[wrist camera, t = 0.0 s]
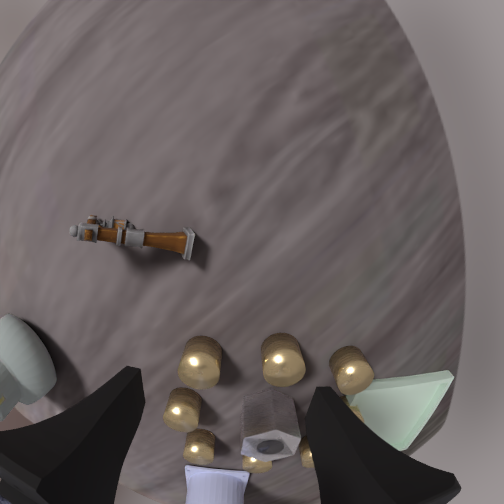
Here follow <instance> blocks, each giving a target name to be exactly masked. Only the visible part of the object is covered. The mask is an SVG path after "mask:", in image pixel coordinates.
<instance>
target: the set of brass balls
mask: <svg viewBox="0 0 504 504" xmlns="http://www.w3.org/2000/svg"><path fill="white" fill-rule="evenodd" d="M261 354H262V365H263V375H264V378H265V380H266V381H267V382H268V383H269V384H271V385H273V386H277V387H287V386H291V385H293V384H295V383H297V382H298V381H300V380H301V379H302V377H303V376H304V374H305V370H306V368H305V364H304V360H303V357H302V354H301V351H300V347H299V344H298V341H297V340H296V338H295V337H293V336H292V335H290V334H287V333H276V334H273V335H271V336H269V337H268V338H266V339H265V341H264V342H263V344H262V346H261ZM221 359H222V349H221V346H220V345H219V344H218V342H217V341H215V340H214V339H212V338H210V337H207V336H196V337H193V338H191V339H190V340H189V341H188V342H187V343H186V346H185V349H184V352H183V355H182V358H181V361H180V364H179V367H178V375H179V378H180V379H181V380H182V382H183V383H185V384H186V385H187V386H189V387H192V388H195V389H209V388H211V387H213V386H215V385H216V384H217V382H218V381H219V376H220V367H221ZM329 366H330V369H331V371H332V374H333V376H334V378H335V381H336V383H337V386H338V388H339V390H340V392H341V393H343V394H345V395H354V394H357V393H360V392H362V391H364V390H365V389H366V388H367V387H368V386H369V385H370V384H371V383H372V381H373V378H374V372H373V370H372V369H371V367H370V365H369V364H368V362H367V361H366V359H365V357H364V356H363V354H362V353H361V351H360V349H359V348H357V347H355V346H346V347H343V348H341V349H339V350H337V351H336V352H335V353H334V354H333V355H332V357H331V358H330V361H329ZM340 398H341V399H342V400H343V402H344V403H345V404H346V405H347V406H348V407H349V408H350V409H351V410H352V411H353V412H354V413H355V415H356V416H357V417H358V418H359V419H360V420H361V421H362V422H363V423H364V419H363V417H362V414H361V412H360V410H359V408H358V406H357V404H356V406H350V405H349V402H348V400H347V398H346V396H342V397H340ZM201 403H202V399H201V397H200V396H199V394H198V393H196V392H195V391H193V390H191V389H188V388H176V389H174V390H173V391H172V392H171V393H170V396H169V399H168V403H167V406H166V409H165V413H164V416H163V420H164V422H165V424H166V425H167V426H169V427H170V428H172V429H174V430H177V431H180V432H188V433H187V438H186V443H185V448H184V454H183V457H184V458H185V459H186V460H187V461H189V462H191V463H194V464H198V465H207V464H210V463H212V462H213V459H214V448H215V436H214V434H213V433H211V432H210V431H207V430H204V429H196V428H197V426H198V421H199V415H200V409H201ZM299 450H300V455H301V461H302V465H303V466H304V467H307V468H315V467H314V463H313V459H312V455H311V451H310V447H309V443H308V439H307V436H305V437H303V438H301V440H300V443H299ZM271 468H272V461H268V462H263V461H260V460H257V459H254V458H251V457H248V456H245V455H243V469H244V470H245V471H247V472H250V473H263V472H267V471H269V470H270V469H271Z"/></svg>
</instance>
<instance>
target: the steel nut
mask: <svg viewBox="0 0 504 504" xmlns="http://www.w3.org/2000/svg"><path fill="white" fill-rule="evenodd" d="M300 440H301V435H300V430H299V425H298V420H297V415H296V410H295V406H294V401H293V398H291V397H289V396H287V395H285V394H283V393H281V392H279V391H277V390H275V389H273V388H269V389H266V390H262V391H259V392H256V393H253V394H249V395H246V396H244V398H243V405H242V411H241V454H242V455H245V456H248V457H251V458H254V459H257V460H260V461H263V462H268V461H272V460H276V459H280V458H284V457H288V456H291V455H294V454H295V451H296V449H297V447H298V445H299V443H300Z"/></svg>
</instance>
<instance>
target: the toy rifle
mask: <svg viewBox="0 0 504 504" xmlns="http://www.w3.org/2000/svg"><path fill="white" fill-rule="evenodd" d="M97 221H99V220H97V216H92V215H90V217H88V222H87V223H82V222H80V223H79V225H78V226H76V225H74V226H72V227H71V228H70V234H71V236H73V237H76V236H77V241H79V240H82V241H91V242H95V243H96V242H97V240H99V241H107V242H114V243H116V245H119V246H121V243H122V244H125V246H135V247H140V248H142V247H143V246H150V247H156V248H161V249H166V250H171V251H175V252H178V253H181V255H182V256H183V258H184V259H187V260H189V261H190V257H191V252H192V247H193V241H194V236H195V233H194V232H193V231H192V230H191V229H190V228H185V227H184V228H183V232H177V233H151V232H144V229H143V230H138V229H133V228H134V226H133V224H131V223H128V224H127V220H115V219H114V217H112V219H111V220H110V221H109V222H108V221H107V223H106V220H105V221H104V222H103V223H101V221H99V222H100V223H99V224H100V225H99V224H96V222H97ZM101 225H102V226H103V227H102V226H101ZM105 226H106V228H105Z"/></svg>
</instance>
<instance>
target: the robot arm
mask: <svg viewBox="0 0 504 504" xmlns="http://www.w3.org/2000/svg"><path fill="white" fill-rule="evenodd" d="M144 406H145V397H144V390H143V383H142V376H141V369H139V368H135V367H130V366H126V367H125V368H123V369H122V370H121V371H120V372H119V373H117V374H116V375H115V376H114V377H113V378H111V379H110V380H109V381H108V382H106V383H105V384H104V385H103V386H101V387H100V388H99V389H97V390H96V391H95V392H93V393H92V394H91V395H89V396H88V397H86V398H85V399H83V400H82V401H80V402H79V403H77V404H76V405H74V406H73V407H71V408H69V409H67V410H66V411H64V412H62V413H60V414H58V415H56V416H53V417H51V418H49V419H46V420H44V421H41V422H39V423H36V424H33V425H29V426H26V427H22V428H18V429H13V430H6V431H0V478H1V479H2V480H1V481H0V504H114V500H115V495H116V490H117V485H118V481H119V476H120V472H121V468H122V465H123V462H124V459H125V457H126V455H127V452H128V450H129V447H130V445H131V443H132V440H133V438H134V435H135V433H136V431H137V428H138V426H139V423H140V420H141V417H142V413H143V409H144ZM305 423H306V433H307V439H308V443H309V447H310V451H311V455H312V459H313V463H314V467H315V470H316V474H317V478H318V483H319V490H320V498H321V504H447V503H448V502H449V501H450V500H452V499H453V498H454V497H455V496H456V495H457V494H458V493H459V492H460V490H461V486H460V484H459V483H458V481H457V479H456V477H455V476H454V474H453V473H449V472H446V471H442V470H439V469H436V468H433V467H430V466H428V465H426V464H423V463H421V462H419V461H417V460H415V459H413V458H411V457H409V456H407V455H406V454H404V453H402V452H400V451H399V450H397V449H396V448H394V447H393V446H391V445H390V444H389V443H387V442H386V441H384V440H383V439H382V438H380V437H379V436H378V435H377V434H376V433H374V432H373V431H372V430H371V429H370V428H369V427H368V426H367V425H366V424H365V423H363V422H362V421H361V420H360V419H359V418H358V417H357V416H356V415H355V413H354V412H353V411H352V410H351V409H350V408H349V407H348V406H347V405H346V404H345V403H344V402H343V400H342V399H341V398H340V397H339V396H338V395H337V394H336V392H335V391H334V390H333V389H332V388H331V387H316V390H315V393H314V395H313V398H312V401H311V404H310V406H309V409H308V411H307V414H306V417H305ZM185 473H186V481H187V489H188V491H187V498H186V504H244V491H245V488H246V485H247V482H248V478H249V475H250V473H249V472H247V471H236V470H223V469H213V468H204V467H197V466H190V465H186V466H185Z"/></svg>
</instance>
